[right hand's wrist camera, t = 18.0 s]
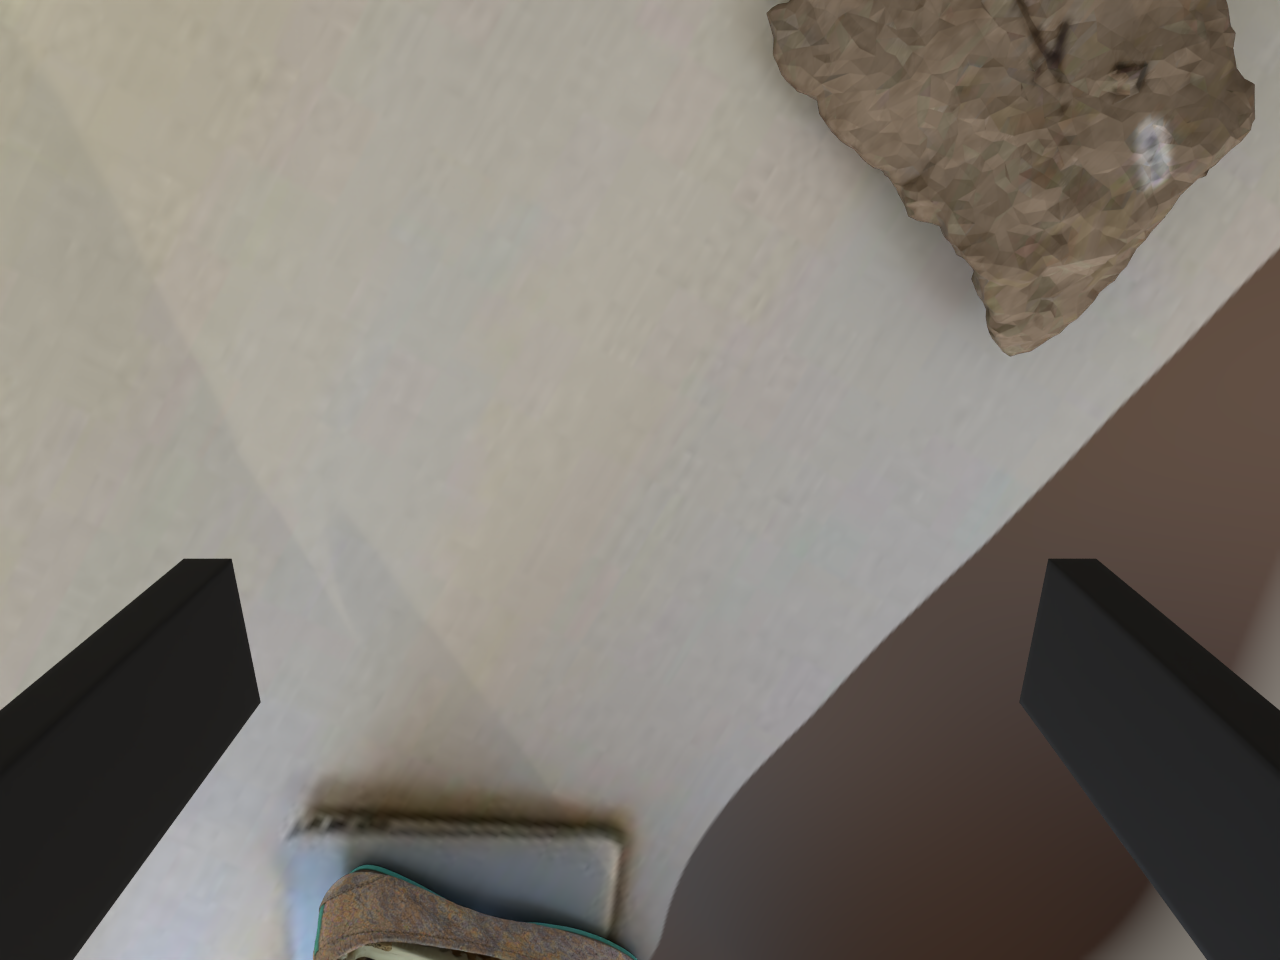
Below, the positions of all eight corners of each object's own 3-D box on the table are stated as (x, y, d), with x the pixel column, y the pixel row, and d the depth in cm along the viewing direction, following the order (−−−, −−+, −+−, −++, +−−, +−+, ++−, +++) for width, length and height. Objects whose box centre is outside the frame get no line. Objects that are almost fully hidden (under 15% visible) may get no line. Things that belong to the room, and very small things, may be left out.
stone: (1298, 153, 37) (1368, 154, 31) (1006, 353, 43) (1023, 382, 38) (1022, -230, 34) (1047, -299, 29) (760, 44, 41) (740, 28, 36)
